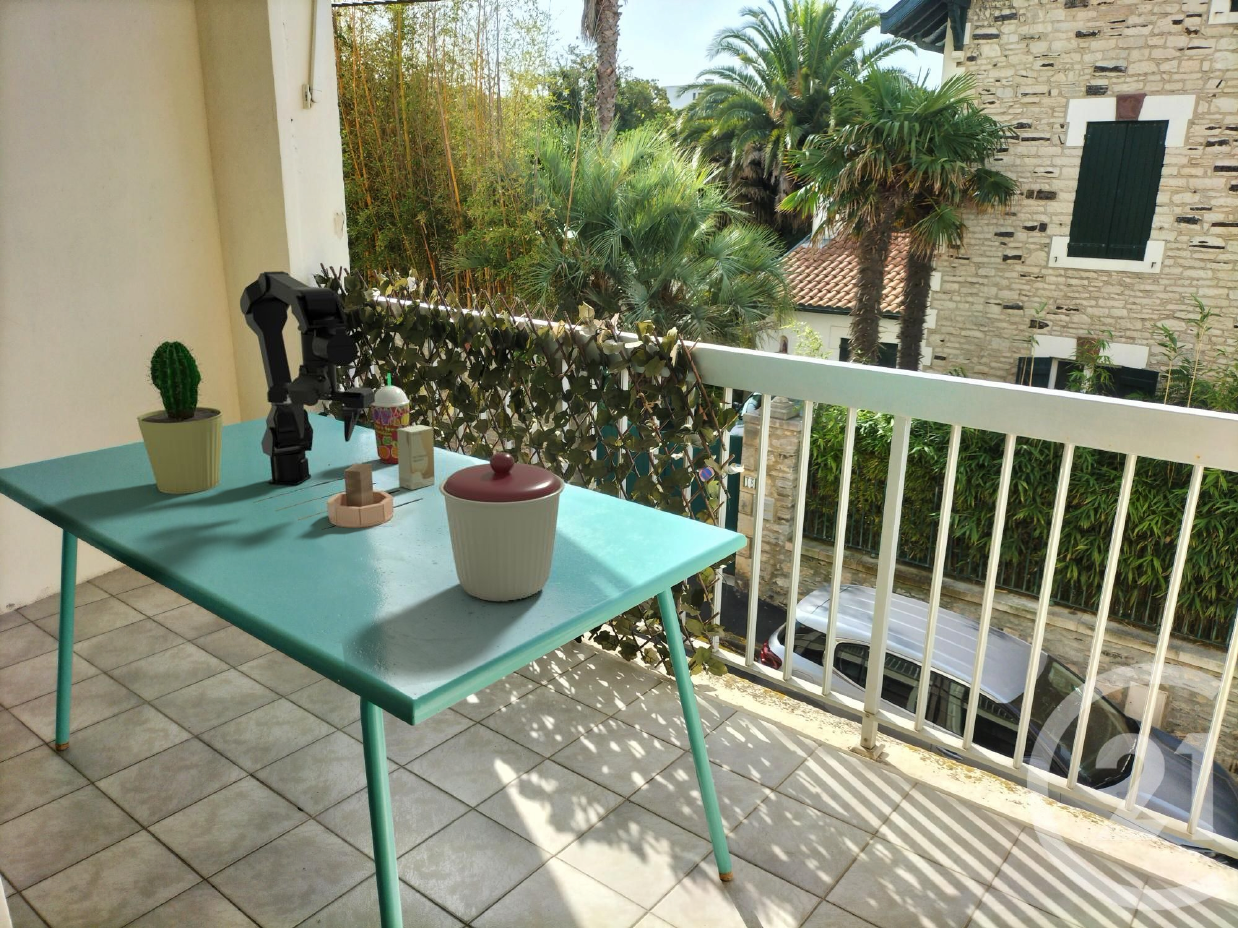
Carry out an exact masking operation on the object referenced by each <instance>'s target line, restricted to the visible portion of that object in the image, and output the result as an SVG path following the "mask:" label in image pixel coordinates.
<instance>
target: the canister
mask: <svg viewBox="0 0 1238 928" xmlns="http://www.w3.org/2000/svg"><path fill="white" fill-rule="evenodd" d="M565 485H566V484H565V481H564V480H563V479H562V478H561V477H560V476H558V475H556V474H555V473H553V472H552V471H550V470H548V469H546V468H544V467H541V466H537V465H534V464H528V463H519V462H515V459H514V457H513V456H512V454H510V453H508V452H503V451H502V452H497V453H494V454H493V455H492V456H491V457H490V459H489V463H482V464H477V465H473V466H472V465H471V466H468V467H465V468H464V467H463V469H462V468H461V469H460V470H457V471H455V472H453V473H452V474H451V475H449V476H448V477H446V478H444V479H443V480H442V481H441V482H440V484H439V485H438V489H439V492H440V493H441V495H442V496H443V497H444V502H445V503H444V504H445V511H446V516H447V524H448V530H449V536H450V543H451V550H452V554H453V560H454V565H455V571H456V572H455V573H456V575H457V579H458V582H459V584H460V586H461V587H462V589H463V590H464V591H465V592H466V593H467V594H468V595H471V596H472V597H475V598H477V599H479V598H480V599H482V600H483V601H488V602H489V601H490V602H500V601H502V602H509V601H508V600H514V601H516V600H515V599H520V600H522V599H521V598H524V597H526V598H528V597H527V596H529V595H531V596H533V595H532V594H534V595H535V593H536V594H537V593H539V592H540V591H541V590H542V589H544V587H545V585H546V584H547V582H548V580H549V578H550V577H549V576H550V573H551V568H552V562H553V555H554V550H555V540H556V532H557V525H558V523H557V522H558V516H559V515H558V514H559V508H560V507H559V506H560V505H559V504H560V495H561V494H562V492H563V491H564V489H565ZM538 591H539V592H538ZM524 599H525V598H524Z"/></svg>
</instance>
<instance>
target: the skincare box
mask: <svg viewBox="0 0 1238 928" xmlns="http://www.w3.org/2000/svg"><path fill="white" fill-rule="evenodd" d="M397 437H398V463H397V464H398V486H399V487H401V488H405V489H408V490H411V491H412V490H416V489H421V488H425V487H428V486H433V485H435V450H434V445H435V444H434V427H431V426H427V425H422V424H416V425H412V426H410V425H409V427H406V428H401V429H397Z"/></svg>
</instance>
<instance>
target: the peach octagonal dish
mask: <svg viewBox="0 0 1238 928" xmlns="http://www.w3.org/2000/svg"><path fill="white" fill-rule="evenodd" d="M373 498H374V504H373V505H368V506H362V507H352V506H347V504H346V491H345V492H339V493H336V494H335V495H333V496H331V497H329V499H327V500H326V504H327V517H328V518H329V522H330V523H331V524H332V525H333V526H337V527H341V528H348V529H351V528H352V529H357V528H358V529H359V528H368V527H375V526H379V525H382V524H385V523H387V522H388V521H390V520H392V518H393V516H394V510H395V509H394V497H393V495H391V494H389V493H387V492H386V491H385V490H378V489H373Z"/></svg>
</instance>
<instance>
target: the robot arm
mask: <svg viewBox="0 0 1238 928" xmlns="http://www.w3.org/2000/svg"><path fill="white" fill-rule="evenodd" d="M239 306H240V307H239V308H240V311H241V314H243V315H244V319H245V323H246V325H247V326H248V327H249V328H250V329H251V331H252V332H253V333H254V334H255V335H256V336H257V338H258V339H257V340H258V345H259V348H260V354H261V359H262V365H263V369H264V370H263V371H264V375H265V378H266V385H267V392H266V397H267V403H270V404H271V407H270V410H269V412H268V413H267V414H268V415H267V417H266V419H265V424H266V428H265V432H264V434H263V437H262V439H261V441H260V443H261V444H260V445H261V449H262V452H263V454H265V455H266V456H268V457H269V461H270V471H271V472H270V474H271V478H270V479H269V480H267V483H268V484H275V485H289V486H290V485H292V486H293V485H294V486H297V485H299V484H301V483H303V482H305V481H306V480H309V478H311V477H312V474H311V473H310V468H309V459H308V457H307V456H306V452H311V451H312V450H313V449H312V448H313V441H314V429H313V426H312V424H311V423H310V419H309V413H308V410H306V408H304V407H305V406H307V407H313V406H316V405H317V404H318V403H319V401H328V402H331V401H332V402H341V404H342V405H343V406H344V407H342V408H341V409H340V410H341V412H342V414H343V433H344V442H346V443H347V442H348V443H349V442H350V441H351V437H352V435H353V432H354V429H355V427H356V424H357V422H358V420H359V417H360V415H361V413H362V411H363V410H365V409H367V408H368V407H369V406H370V405H372V403H374V402H375V391H373V389H372V388H371V387H362V386H361V387H360V386H352V387H351V388H349V389H346V390H339V389H341V384H340V382H338V381H337V370H336V369H337V368H339V367H343V368H344V367H347V366H349V365H351V364H352V363H353V362H354V361H355V360H356V358H357V355H358V345H357V343H356V341H355V340H354V338H353V337H352V336H351V335H348V334H347V330H346V329H347V328H348V327H349V326H348V321H347V320H348V317H347V315H346V313H345V310H344V309H343V307H342V305H341V303H340V301H339V297H338V295H336V293H335V291H334V290H332V288H328V287H320V286H319V287H318V286H317V287H316V286H315V287H314V286H309V285H307V284H305V283H303V282H302V281H299V280H298V279H296V278H294V277H292V276H291V275H290V274H289V273H288V272H285V271H281V270H280V271H279V270H278V271H276V270H275V271H264V272H261V273H260V274H259V275H258V277H257V279H256V280H254V281H253V282H251V283H250V284H248V285H247V286H246V287H245V288H244V289H243V291H242V294H241V296H240V299H239ZM289 308H290V309H291V314H292V315H293V316H294V318H295V320H296V321H297V323H298V325H297V330H298V331H299V332H300V343H301V344H300V345H301V346H300V347H301V359H302V364H300V365H299V368H298V376H297V377H296V378H294V379H293V380H292V376H291V371H290V365H289V359H288V355H287V350H286V346H285V340H284V334H283V330H284V328H285V326H286V324H287V321H288V318H289V317H288V310H289Z"/></svg>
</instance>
